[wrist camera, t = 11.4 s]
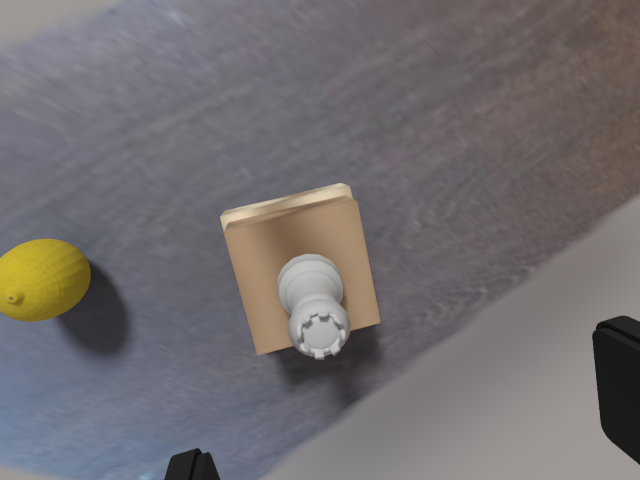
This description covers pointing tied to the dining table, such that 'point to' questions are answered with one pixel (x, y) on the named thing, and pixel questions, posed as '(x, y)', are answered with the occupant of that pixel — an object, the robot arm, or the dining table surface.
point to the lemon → (42, 279)
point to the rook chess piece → (314, 305)
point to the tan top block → (292, 241)
